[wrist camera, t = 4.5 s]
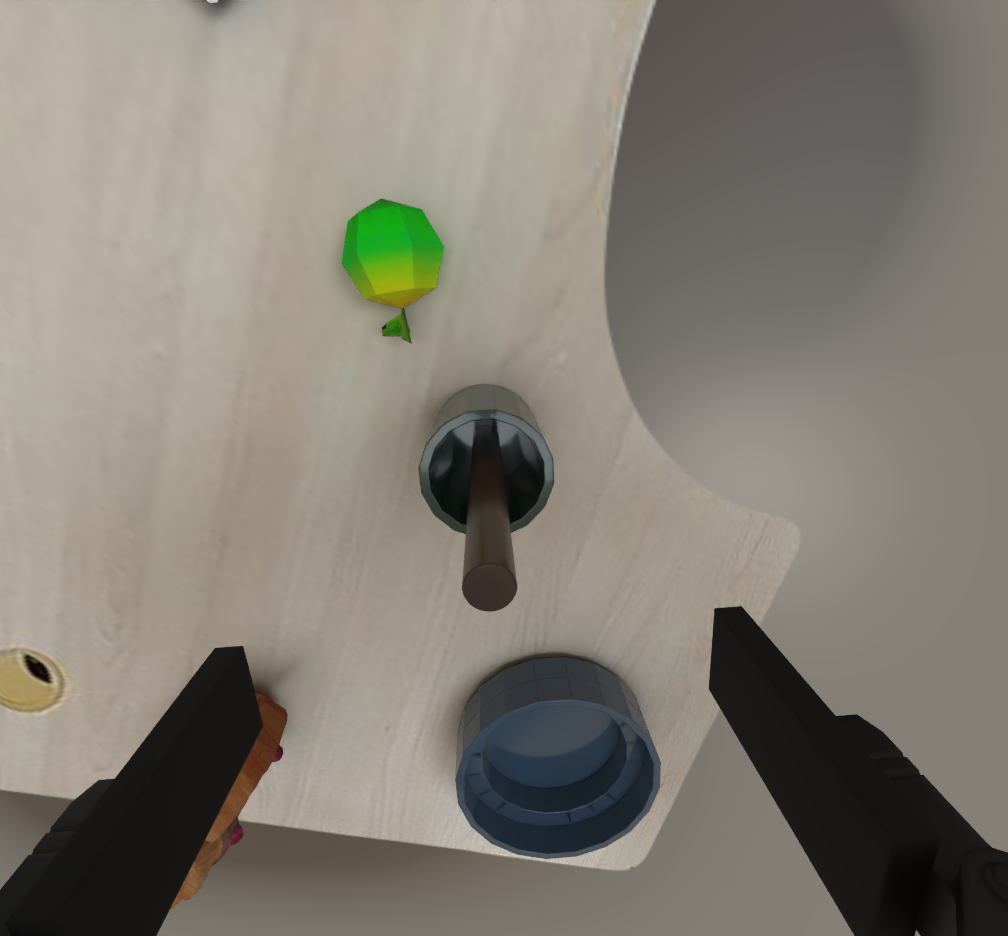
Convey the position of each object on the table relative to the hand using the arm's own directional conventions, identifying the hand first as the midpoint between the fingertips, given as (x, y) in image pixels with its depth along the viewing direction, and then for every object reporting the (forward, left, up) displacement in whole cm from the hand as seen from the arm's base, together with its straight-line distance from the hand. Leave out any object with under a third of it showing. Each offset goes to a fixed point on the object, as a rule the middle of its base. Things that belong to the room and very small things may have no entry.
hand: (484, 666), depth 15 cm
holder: (0, 0, -27) cm, 27 cm away
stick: (0, 0, -26) cm, 26 cm away
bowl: (-4, +29, -27) cm, 40 cm away
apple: (+5, -12, -27) cm, 30 cm away
